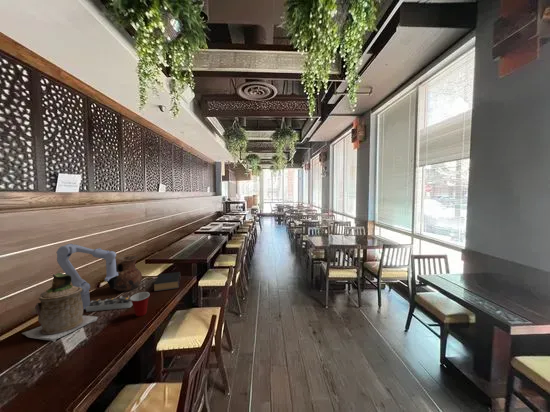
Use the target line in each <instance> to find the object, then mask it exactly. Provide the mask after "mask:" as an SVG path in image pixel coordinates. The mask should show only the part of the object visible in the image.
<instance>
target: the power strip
mask: <svg viewBox="0 0 550 412" xmlns="http://www.w3.org/2000/svg"><path fill="white" fill-rule="evenodd" d="M128 298H129V300H128V301H123V300H122V301H119V298H115V300H114V301H112V302H110V303H109V302H107V303H104V300H101V301H100V302H98V303H96V304H95V303H93V304H92V305H90V304H89V305H88V306H86V309H85V312H86V313H89V312H100V311H110V310H112V311H113V310H121V309H129V308H131V307H132V306H133V304H132V301H131V300H130V297H128Z"/></svg>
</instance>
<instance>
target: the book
mask: <svg viewBox="0 0 550 412" xmlns="http://www.w3.org/2000/svg"><path fill="white" fill-rule="evenodd" d="M181 278H182V277H181V271H176V272H169V273H168V272H166V273H159V274H158V275H157V278H156V279H155V282H154V283H153V285H154V286H153V289H154V292H158V291H159V292H160V291H166V290H173V289H179V286H180V282H181Z"/></svg>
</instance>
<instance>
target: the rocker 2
mask: <svg viewBox="0 0 550 412" xmlns="http://www.w3.org/2000/svg"><path fill="white" fill-rule="evenodd" d="M115 299H116V298H115V297H112V298H106V299H104V300H103V301H104V303H107V302H109V303H110V302H112V301H114V300H115Z"/></svg>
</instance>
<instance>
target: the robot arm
mask: <svg viewBox="0 0 550 412" xmlns="http://www.w3.org/2000/svg"><path fill="white" fill-rule="evenodd" d="M74 253H82V254H88V255H92V258H93V257H94V258H98V259H102V260H105V268H106V269H105V270H106V276H105V278H104V282H107V284H108V287H109V289H113V290H114V289H115V283H116V280H117V278H118V277H115V276H118V272H116V259H117V258H116V257H117V252H115V251H113V250H105V249H102V248H101V247H99V248H95V249H93V248H89V247H86V246H82V245H79V244H75V243H74V244H73V243H68V244H65V245H62V246H60V247H58V249H57V250H56V262H57V264H58V265H59V266H60V268H61V269H62V271H63V272H64V274H67V275H70V276H71V279H72V280H71V285H72V286H76V287H81V288H82V291H81V292H80V294H81V299H82V302H83V311H84V310H86V306H88V305H89V304H90V302H91V299H90V298H91V297H90V291H89V290H90V289H91V283H88V282H87V281H86V280H85V279H83V278H82V277H81V276H80V274H79V273H78V270H76V267H74V265H73V264H72V262H71V261H70V258H71V255H72V254H74Z"/></svg>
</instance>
